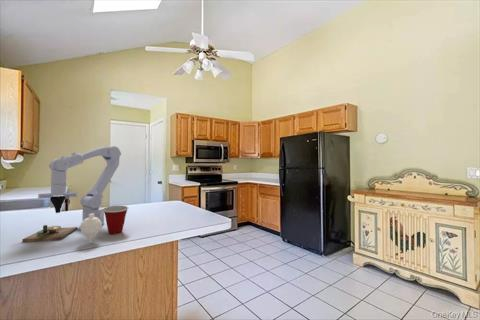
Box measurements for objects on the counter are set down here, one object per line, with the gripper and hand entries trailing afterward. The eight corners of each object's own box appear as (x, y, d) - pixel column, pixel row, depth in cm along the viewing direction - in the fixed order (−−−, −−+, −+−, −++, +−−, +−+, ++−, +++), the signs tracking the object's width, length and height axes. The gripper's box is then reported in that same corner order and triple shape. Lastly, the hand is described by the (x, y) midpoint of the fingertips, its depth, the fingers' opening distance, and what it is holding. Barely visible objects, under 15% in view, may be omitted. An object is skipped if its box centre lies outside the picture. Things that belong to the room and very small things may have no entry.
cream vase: (98, 245, 94) (99, 215, 94) (76, 246, 92) (77, 216, 92) (103, 239, 101) (104, 211, 102) (83, 240, 99) (84, 212, 99)
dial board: (77, 229, 115) (77, 223, 115) (61, 239, 100) (61, 233, 100) (44, 231, 112) (44, 225, 112) (22, 242, 96) (22, 235, 96)
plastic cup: (101, 237, 103) (101, 210, 104) (102, 231, 113) (103, 206, 113) (128, 234, 108) (128, 208, 109) (127, 228, 118) (128, 204, 118)
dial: (48, 227, 108) (48, 220, 108) (63, 226, 109) (63, 220, 109) (35, 233, 99) (36, 226, 99) (52, 232, 100) (52, 225, 100)
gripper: (78, 182, 117) (77, 209, 117) (41, 183, 111) (40, 212, 110) (76, 184, 111) (75, 212, 111) (37, 185, 104) (36, 215, 104)
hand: (58, 212), depth 110 cm, fingers closed
